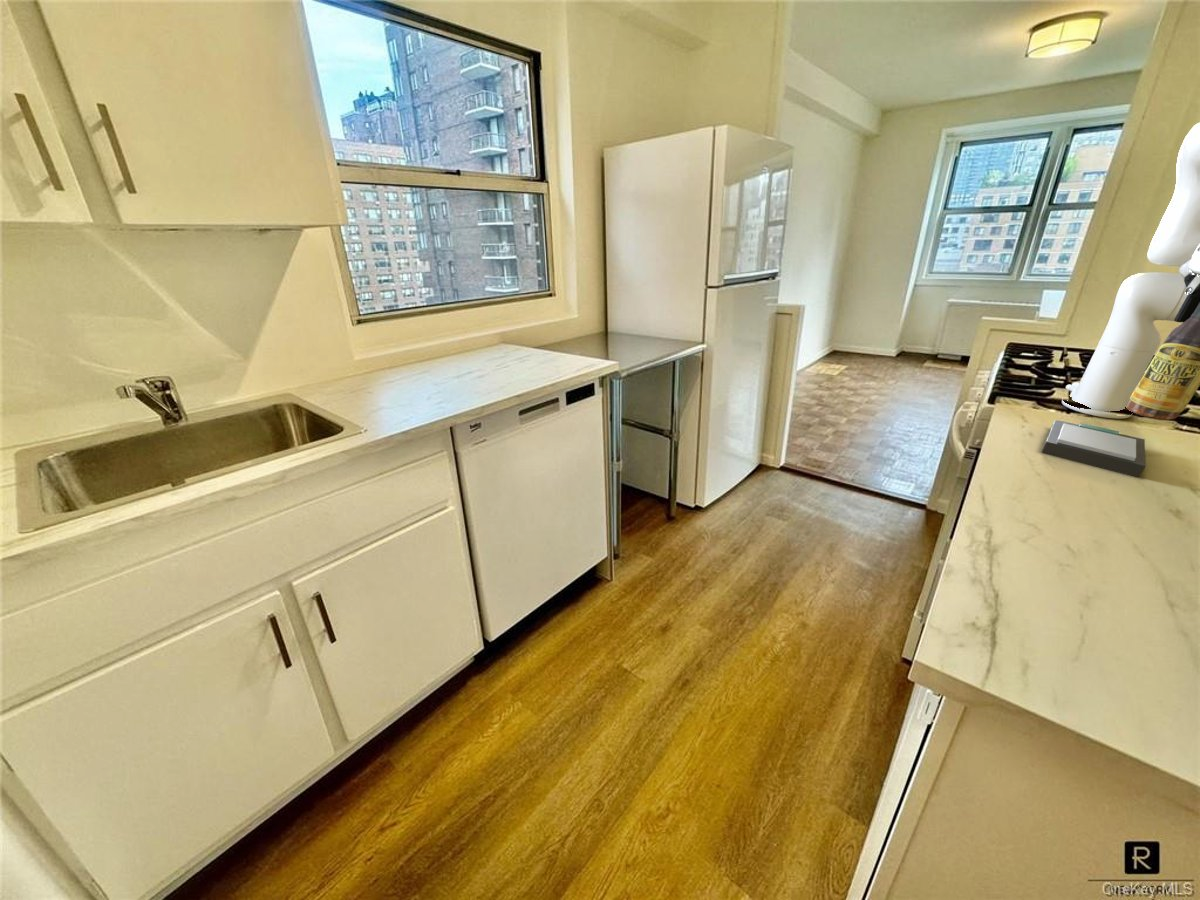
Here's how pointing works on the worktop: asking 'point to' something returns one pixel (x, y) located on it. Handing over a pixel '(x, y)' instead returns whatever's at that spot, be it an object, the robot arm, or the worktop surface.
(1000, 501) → the worktop surface
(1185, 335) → the sauce bottle
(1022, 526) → the worktop surface
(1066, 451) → the scale
